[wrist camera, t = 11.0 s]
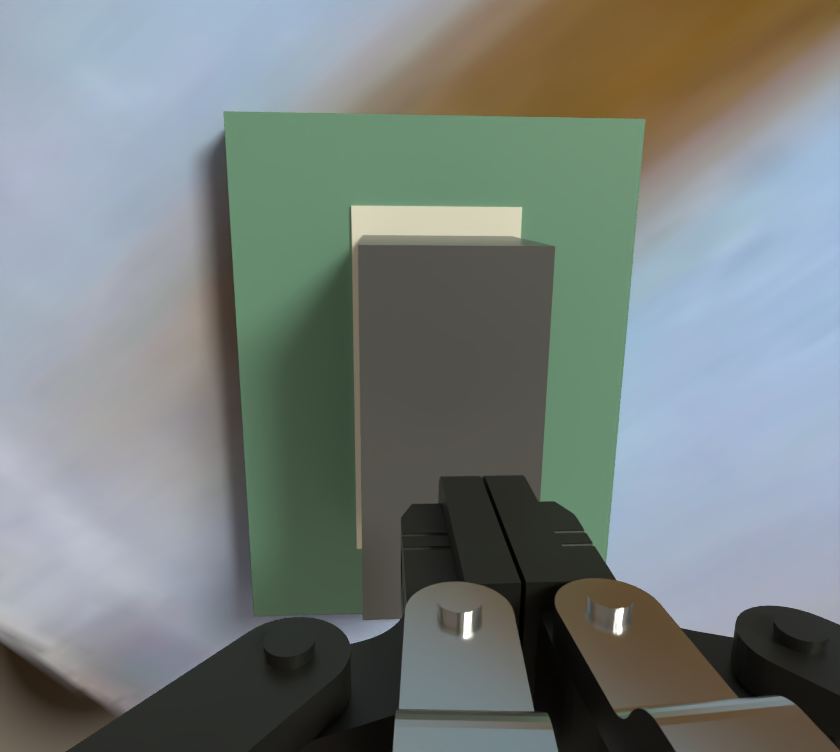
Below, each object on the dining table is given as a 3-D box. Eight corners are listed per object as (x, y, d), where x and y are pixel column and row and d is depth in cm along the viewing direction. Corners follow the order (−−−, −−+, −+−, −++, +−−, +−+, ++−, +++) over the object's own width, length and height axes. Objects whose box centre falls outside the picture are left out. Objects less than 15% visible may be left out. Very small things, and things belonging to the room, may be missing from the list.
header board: (234, 118, 20) (188, 89, 15) (626, 125, 21) (702, 100, 16) (261, 591, 24) (231, 689, 19) (588, 583, 25) (640, 675, 20)
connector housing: (363, 235, 19) (358, 244, 15) (511, 236, 20) (555, 245, 15) (366, 527, 22) (363, 619, 17) (499, 524, 22) (533, 615, 17)
